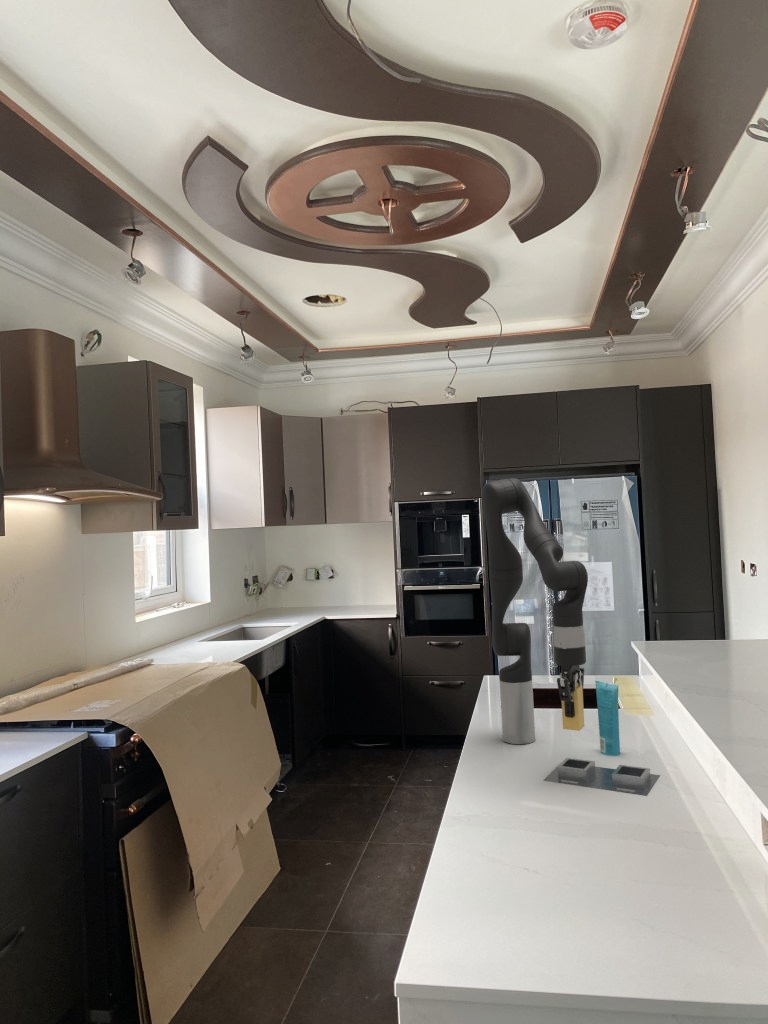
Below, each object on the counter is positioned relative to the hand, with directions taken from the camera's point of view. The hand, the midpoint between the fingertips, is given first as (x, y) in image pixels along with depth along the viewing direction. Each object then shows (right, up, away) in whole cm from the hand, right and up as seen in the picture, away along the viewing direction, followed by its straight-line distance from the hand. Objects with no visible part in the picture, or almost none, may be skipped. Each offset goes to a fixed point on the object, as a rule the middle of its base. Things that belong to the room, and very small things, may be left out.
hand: (573, 714), depth 181 cm
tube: (+14, -15, +15) cm, 25 cm away
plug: (0, -3, 0) cm, 3 cm away
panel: (+6, -15, -3) cm, 17 cm away
